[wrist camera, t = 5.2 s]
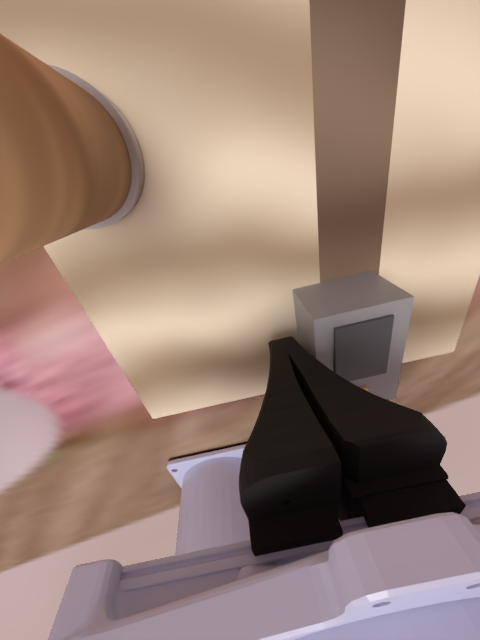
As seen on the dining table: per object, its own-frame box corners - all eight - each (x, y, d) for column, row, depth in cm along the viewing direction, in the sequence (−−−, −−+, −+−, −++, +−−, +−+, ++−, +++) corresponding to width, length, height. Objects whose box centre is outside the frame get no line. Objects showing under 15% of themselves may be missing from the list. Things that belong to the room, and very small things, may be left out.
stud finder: (364, 360, 15) (397, 400, 12) (302, 374, 15) (321, 417, 13) (371, 270, 12) (416, 297, 9) (292, 289, 12) (314, 322, 9)
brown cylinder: (162, 210, 10) (68, 277, 3) (58, 236, 10) (-223, 348, 4) (109, 59, 8) (-491, -614, 1) (-26, 94, 8) (-1271, -325, 1)
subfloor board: (435, 338, 17) (454, 351, 16) (157, 400, 17) (152, 418, 16) (560, -123, 7) (632, -185, 6) (-52, 42, 8) (-103, 16, 7)
